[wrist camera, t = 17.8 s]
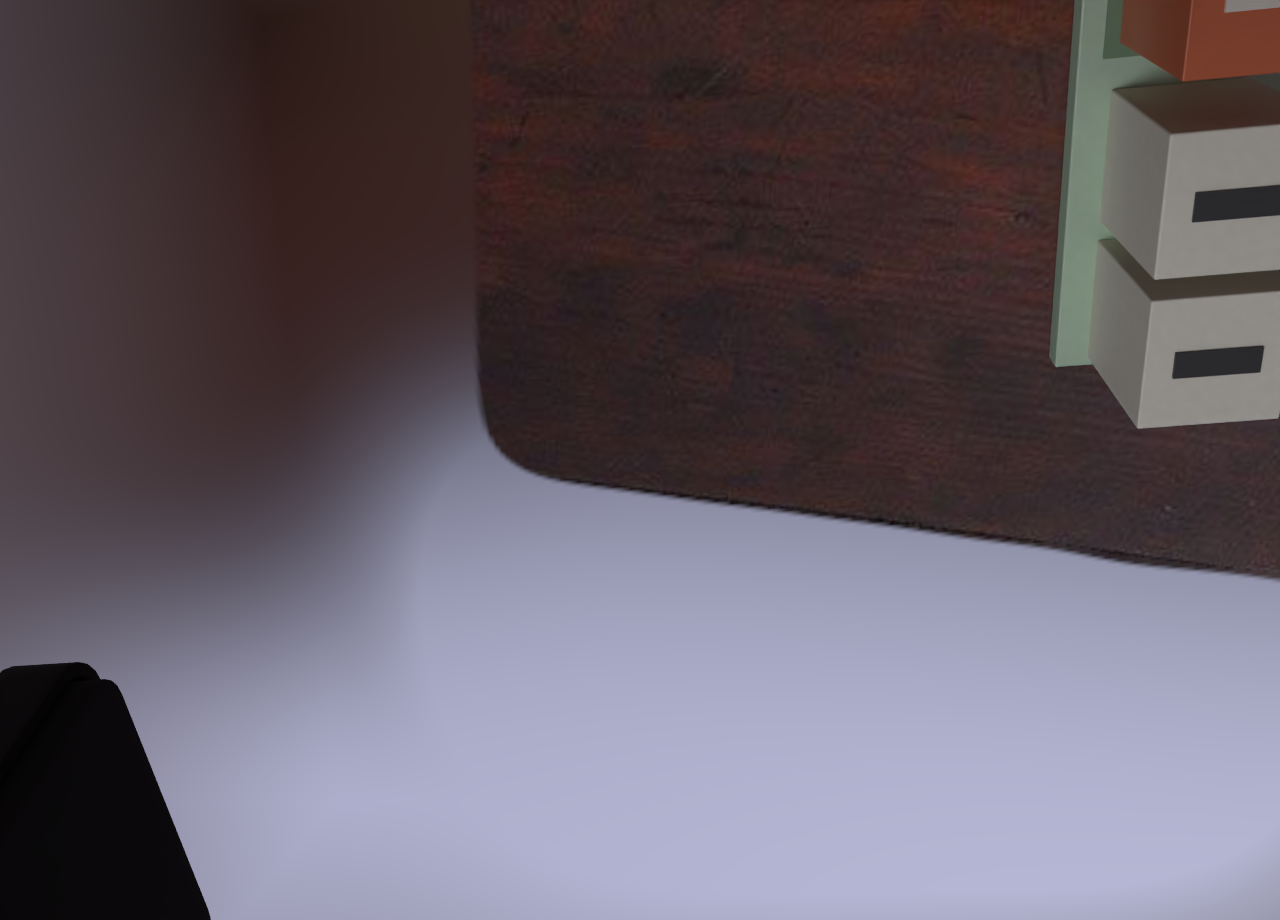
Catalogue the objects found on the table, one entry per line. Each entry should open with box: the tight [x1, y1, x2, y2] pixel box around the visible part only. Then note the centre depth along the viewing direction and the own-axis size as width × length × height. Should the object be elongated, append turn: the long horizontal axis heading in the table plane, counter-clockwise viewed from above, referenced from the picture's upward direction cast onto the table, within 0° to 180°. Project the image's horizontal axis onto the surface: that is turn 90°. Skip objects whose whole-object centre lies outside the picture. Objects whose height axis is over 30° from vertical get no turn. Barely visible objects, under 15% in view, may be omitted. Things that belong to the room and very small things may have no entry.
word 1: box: [1049, 0, 1280, 428], centre depth 34 cm, size 6×15×6 cm, turn 6°
